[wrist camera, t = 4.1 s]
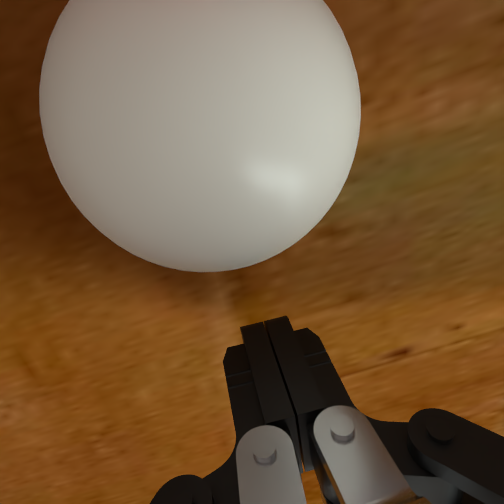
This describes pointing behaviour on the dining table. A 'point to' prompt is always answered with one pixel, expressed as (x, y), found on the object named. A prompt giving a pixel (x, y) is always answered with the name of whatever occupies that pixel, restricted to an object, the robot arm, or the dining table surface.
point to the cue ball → (200, 123)
